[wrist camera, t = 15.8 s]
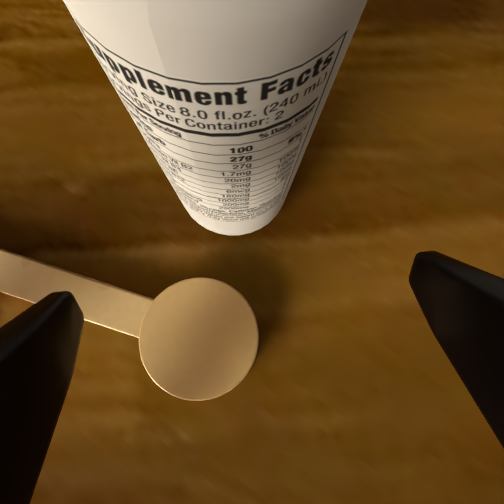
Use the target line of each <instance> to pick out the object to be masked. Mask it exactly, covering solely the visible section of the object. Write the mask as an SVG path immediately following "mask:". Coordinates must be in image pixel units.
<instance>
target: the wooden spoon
mask: <svg viewBox="0 0 504 504" xmlns="http://www.w3.org/2000/svg"><path fill="white" fill-rule="evenodd" d="M60 291H70V292H71V293H72V294H73V295H74V297H75V299H76V301H77V303H78V305H79V307H80V308H81V310H82V312H83V315H84V320H86V321H89V322H92V323H95V324H98V325H101V326H104V327H107V328H110V329H113V330H116V331H119V332H122V333H125V334H128V335H131V336H134V337H137V338H139V350H140V355H141V359H142V362H143V365H144V367H145V369H146V371H147V373H148V374H149V376H150V377H151V379H152V380H153V381H154V382H155V383H156V384H157V385H158V386H159V387H160V388H161V389H163V390H164V391H166V392H167V393H169V394H171V395H173V396H175V397H178V398H181V399H185V400H192V401H203V400H209V399H213V398H216V397H219V396H221V395H223V394H226V393H227V392H229V391H230V390H232V389H233V388H234V387H236V386H237V385H238V384H239V383H240V382H241V381H242V380H243V379H244V378H245V376H246V375H247V373H248V372H249V371H250V369H251V367H252V365H253V363H254V360H255V357H256V354H257V350H258V343H259V330H258V324H257V320H256V317H255V314H254V312H253V310H252V308H251V306H250V304H249V303H248V301H247V300H246V299H245V297H244V296H243V295H242V294H241V293H240V292H239V291H237V290H236V289H235V288H233V287H232V286H230V285H228V284H227V283H225V282H222V281H220V280H216V279H212V278H205V277H196V278H189V279H185V280H182V281H179V282H177V283H175V284H173V285H171V286H169V287H168V288H166V289H165V290H164V291H162V292H161V293H160V294H159V295H158V296H157V297H156V298H155V299H153V298H150V297H147V296H144V295H141V294H138V293H135V292H131V291H128V290H125V289H122V288H119V287H116V286H113V285H110V284H107V283H104V282H101V281H98V280H95V279H92V278H89V277H86V276H83V275H80V274H77V273H74V272H71V271H68V270H65V269H62V268H59V267H56V266H53V265H50V264H47V263H44V262H41V261H38V260H35V259H31V258H28V257H25V256H22V255H19V254H16V253H13V252H10V251H7V250H4V249H1V248H0V292H2V293H5V294H8V295H11V296H14V297H17V298H20V299H23V300H26V301H29V302H32V303H37V302H38V301H40V300H41V299H43V298H44V297H45V296H47V295H48V294H50V293H52V292H60Z"/></svg>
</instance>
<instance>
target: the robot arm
mask: <svg viewBox="0 0 504 504" xmlns="http://www.w3.org/2000/svg"><path fill="white" fill-rule="evenodd" d="M409 283H410V286H411V288H412V290H413V292H414V294H415V296H416V299H417V301H418V303H419V305H420V307H421V309H422V311H423V313H424V315H425V317H426V320H427V322H428V324H429V326H430V328H431V330H432V332H433V334H434V335H435V337H436V339H437V340H438V342H439V344H440V345H441V347H442V349H443V350H444V352H445V354H446V355H447V357H448V358H449V360H450V362H451V363H452V365H453V367H454V368H455V370H456V371H457V373H458V375H459V376H460V378H461V380H462V381H463V383H464V385H465V386H466V388H467V389H468V391H469V393H470V394H471V396H472V398H473V399H474V401H475V402H476V404H477V406H478V407H479V409H480V411H481V412H482V414H483V415H484V417H485V419H486V420H487V422H488V424H489V425H490V427H491V429H492V430H493V432H494V433H495V435H496V437H497V438H498V440H499V442H500V443H501V445H502V446H503V448H504V279H503V278H500V277H498V276H495V275H493V274H490V273H488V272H485V271H483V270H480V269H478V268H476V267H473V266H471V265H468V264H466V263H463V262H461V261H458V260H456V259H453V258H451V257H448V256H446V255H444V254H441V253H439V252H436V251H426V252H419V253H418V254H417V255H416V256H415V259H414V262H413V265H412V268H411V272H410V275H409ZM83 325H84V315H83V312H82V310H81V308H80V307H79V305H78V303H77V301H76V299H75V297H74V295H73V294H72V293H71V292H70V291H60V292H52V293H50V294H48V295H47V296H45V297H44V298H43V299H41V300H40V301H38V302H37V303H35V304H34V305H32V306H31V307H30V308H28V309H27V310H25V311H24V312H22V313H21V314H19V315H18V316H17V317H15V318H14V319H12V320H11V321H9V322H8V323H6V324H5V325H3V326H2V327H1V328H0V504H30V501H31V498H32V495H33V492H34V489H35V486H36V483H37V480H38V477H39V474H40V471H41V468H42V465H43V462H44V460H45V457H46V454H47V451H48V448H49V445H50V442H51V439H52V436H53V433H54V430H55V427H56V424H57V421H58V418H59V415H60V412H61V409H62V406H63V403H64V400H65V397H66V394H67V391H68V388H69V385H70V382H71V378H72V375H73V371H74V366H75V362H76V357H77V352H78V348H79V343H80V339H81V334H82V329H83Z"/></svg>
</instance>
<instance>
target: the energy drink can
mask: <svg viewBox="0 0 504 504" xmlns="http://www.w3.org/2000/svg"><path fill="white" fill-rule="evenodd" d="M63 1H64V3H65V5H66V6H67V8H68V10H69V11H70V13H71V15H72V17H73V18H74V20H75V22H76V23H77V25H78V27H79V28H80V30H81V32H82V34H83V35H84V37H85V39H86V40H87V42H88V44H89V45H90V47H91V49H92V51H93V52H94V54H95V56H96V57H97V59H98V61H99V62H100V64H101V66H102V68H103V69H104V71H105V73H106V74H107V76H108V78H109V79H110V81H111V83H112V85H113V86H114V88H115V90H116V91H117V93H118V95H119V96H120V98H121V100H122V101H123V103H124V105H125V107H126V108H127V110H128V112H129V113H130V115H131V117H132V118H133V120H134V122H135V124H136V125H137V127H138V129H139V130H140V132H141V134H142V135H143V137H144V139H145V141H146V142H147V144H148V146H149V147H150V149H151V151H152V152H153V154H154V156H155V158H156V159H157V161H158V163H159V164H160V166H161V168H162V169H163V171H164V173H165V175H166V176H167V178H168V180H169V181H170V183H171V185H172V186H173V188H174V190H175V192H176V193H177V195H178V197H179V198H180V200H181V202H182V203H183V205H184V207H185V208H186V210H187V211H188V213H189V214H190V216H191V217H192V218H193V219H194V220H195V221H196V222H198V223H199V224H200V225H202V226H203V227H205V228H206V229H208V230H210V231H213V232H216V233H218V234H224V235H243V234H247V233H251V232H254V231H256V230H258V229H261V228H262V227H264V226H265V225H267V224H268V223H269V222H270V221H271V220H272V219H273V218H274V217H275V216H276V215H277V214H278V212H279V211H280V209H281V208H282V206H283V204H284V201H285V199H286V196H287V194H288V191H289V189H290V187H291V184H292V182H293V179H294V177H295V174H296V172H297V170H298V167H299V165H300V162H301V160H302V158H303V155H304V153H305V150H306V148H307V145H308V143H309V141H310V138H311V136H312V133H313V131H314V128H315V126H316V124H317V121H318V119H319V116H320V114H321V112H322V109H323V107H324V104H325V102H326V99H327V97H328V95H329V92H330V90H331V87H332V85H333V82H334V80H335V78H336V75H337V73H338V70H339V68H340V66H341V63H342V61H343V58H344V56H345V53H346V51H347V49H348V46H349V44H350V41H351V39H352V36H353V34H354V32H355V29H356V27H357V24H358V22H359V20H360V17H361V15H362V12H363V10H364V7H365V5H366V3H367V0H63Z"/></svg>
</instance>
